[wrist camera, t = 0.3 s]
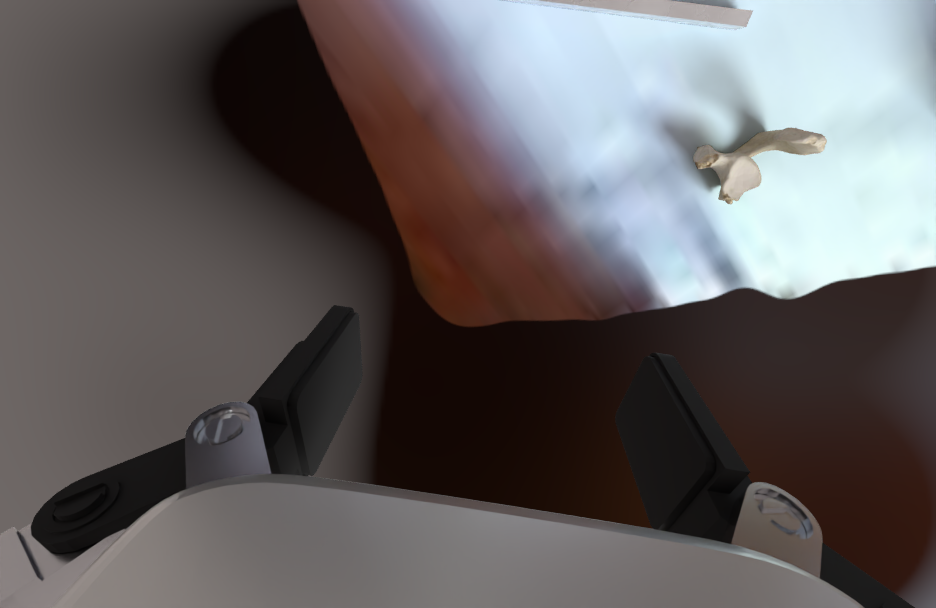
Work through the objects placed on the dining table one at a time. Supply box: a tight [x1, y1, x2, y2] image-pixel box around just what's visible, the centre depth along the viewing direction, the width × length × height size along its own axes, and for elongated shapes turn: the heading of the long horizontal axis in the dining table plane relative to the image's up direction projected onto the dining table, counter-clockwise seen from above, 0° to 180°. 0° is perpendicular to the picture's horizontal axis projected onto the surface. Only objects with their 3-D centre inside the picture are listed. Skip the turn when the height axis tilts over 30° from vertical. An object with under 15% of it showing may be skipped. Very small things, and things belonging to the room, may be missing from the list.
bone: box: [693, 128, 827, 204], centre depth 31 cm, size 9×6×10 cm
